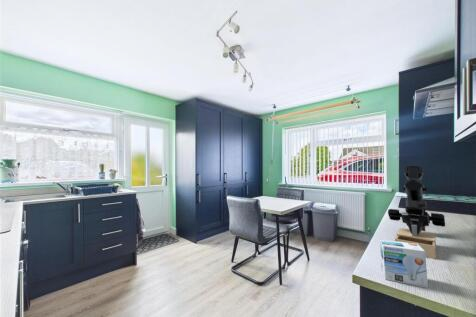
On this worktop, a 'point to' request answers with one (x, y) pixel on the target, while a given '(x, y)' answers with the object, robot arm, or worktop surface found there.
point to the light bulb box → (403, 262)
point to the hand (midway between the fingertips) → (414, 233)
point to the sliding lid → (422, 235)
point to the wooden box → (424, 244)
